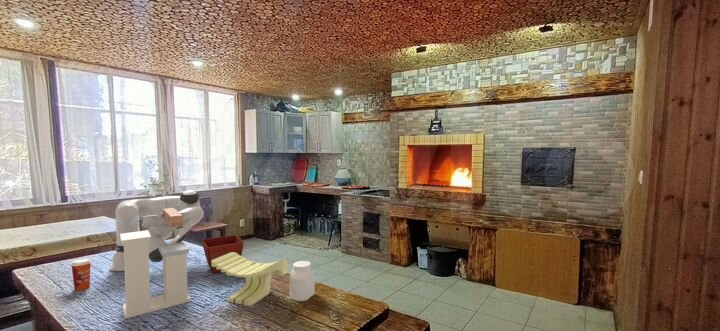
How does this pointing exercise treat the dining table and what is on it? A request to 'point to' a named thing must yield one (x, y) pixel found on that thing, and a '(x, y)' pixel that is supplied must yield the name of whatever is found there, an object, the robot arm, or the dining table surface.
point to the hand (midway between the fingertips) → (169, 213)
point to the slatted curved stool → (249, 276)
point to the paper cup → (81, 274)
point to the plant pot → (221, 248)
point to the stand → (140, 278)
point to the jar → (301, 281)
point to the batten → (173, 217)
